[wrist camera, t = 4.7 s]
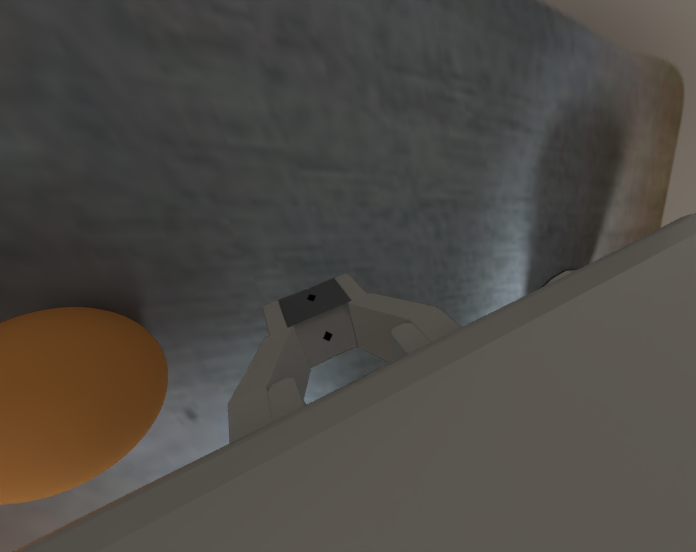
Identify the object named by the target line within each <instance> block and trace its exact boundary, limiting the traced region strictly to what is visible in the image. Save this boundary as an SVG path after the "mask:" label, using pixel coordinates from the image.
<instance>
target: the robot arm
mask: <svg viewBox="0 0 696 552" xmlns="http://www.w3.org/2000/svg"><path fill="white" fill-rule="evenodd" d="M278 301H279V302H278ZM263 311H264V315H265V319H266V323H267V327H268V331H269V335H270V336H268V337H266V338H265V339H264V341H263V343H262V344H261V346H260V348H259V350H258V351H257V353H256V355H255V357H254V359H253V360H252V362H251V364H250V366H249V367H248V369H247V371H246V373H245V374H244V376H243V378H242V380H241V382H240V383H239V385H238V387H237V389H236V390H235V392H234V394H233V396H232V398H231V399H230V401H229V403H228V418H229V444H228V445H226V446H224V447H222V448H220V449H218V450H216V451H214V452H212V453H210V454H208V455H206V456H204V457H202V458H200V459H198V460H196V461H194V462H192V463H190V464H188V465H186V466H184V467H182V468H180V469H177V470H175V471H173V472H171V473H169V474H167V475H165V476H163V477H161V478H159V479H157V480H155V481H153V482H151V483H149V484H147V485H145V486H143V487H141V488H139V489H137V490H135V491H133V492H131V493H129V494H127V495H125V496H123V497H121V498H119V499H117V500H115V501H113V502H111V503H109V504H107V505H105V506H103V507H101V508H99V509H97V510H95V511H93V512H91V513H89V514H87V515H85V516H83V517H81V518H79V519H77V520H75V521H73V522H71V523H69V524H67V525H65V526H63V527H61V528H59V529H57V530H55V531H53V532H51V533H49V534H47V535H45V536H43V537H41V538H39V539H37V540H35V541H33V542H31V543H29V544H27V545H25V546H23V547H21V548H19V549H17V550H15V551H13V552H696V213H695V214H690V215H687V216H684V217H681V218H679V219H677V220H675V221H673V222H671V223H669V224H668V225H666V226H664V227H662V228H660V229H658V230H656V231H654V232H652V233H650V234H648V235H646V236H644V237H642V238H640V239H638V240H636V241H634V242H632V243H630V244H628V245H626V246H624V247H622V248H620V249H618V250H616V251H614V252H612V253H610V254H608V255H606V256H604V257H602V258H600V259H598V260H596V261H594V262H592V263H590V264H588V265H586V266H584V267H582V268H580V269H578V270H576V271H574V272H572V273H570V274H568V275H566V276H564V277H562V278H560V279H558V280H556V281H554V282H552V283H550V284H548V285H546V286H544V287H542V288H540V289H538V290H536V291H534V292H532V293H530V294H528V295H526V296H524V297H522V298H520V299H518V300H516V301H514V302H512V303H510V304H508V305H506V306H504V307H502V308H500V309H498V310H496V311H494V312H492V313H490V314H488V315H486V316H484V317H482V318H480V319H478V320H476V321H474V322H472V323H470V324H468V325H466V326H464V327H461V326H460V325H458V324H457V323H456V322H455V321H454V320H452V319H451V318H450V317H449V316H447V315H446V314H445V313H444V312H443V311H441V310H440V309H439V308H438V307H435V306H430V305H426V304H421V303H416V302H412V301H407V300H402V299H398V298H393V297H388V296H384V295H379V294H374V293H369V294H367V293H366V292H365V291H364V290H363V289H362V288H361V287H360V286H359V285H358V284H357V283H356V281H355V280H354V279H353V278H352V277H351V276H350V275H349V274H348V273H344V274H342V275H339V276H337V277H335V278H333V279H330V280H328V281H326V282H323V283H321V284H319V285H316V286H314V287H312V288H309V289H306V290H303V291H300V292H297V293H295V294H292V295H289V296H287V297H284V298H281V299H279V300H276V301H273V302H271V303H268V304H266V305H263ZM357 346H358V347H359V348H361V349H363V350H365V351H367V352H369V353H371V354H373V355H376V356H378V357H380V358H382V359H384V360H386V361H388V362H390V364H388V365H386V366H384V367H382V368H380V369H378V370H376V371H374V372H372V373H370V374H368V375H366V376H364V377H362V378H360V379H358V380H356V381H353V382H351V383H349V384H347V385H345V386H343V387H341V388H339V389H337V390H335V391H333V392H331V393H329V394H327V395H325V396H323V397H321V398H319V399H317V400H315V401H313V402H311V403H309V404H307V405H306V403H305V401H304V396H305V392H306V387H307V383H308V379H309V375H310V371H311V369H310V368H312V367H314V366H316V365H318V364H320V363H322V362H324V361H326V360H328V359H330V358H332V357H334V356H336V355H339V354H341V353H343V352H345V351H348V350H350V349H352V348H355V347H357Z"/></svg>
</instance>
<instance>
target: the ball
mask: <svg viewBox="0 0 696 552" xmlns="http://www.w3.org/2000/svg"><path fill="white" fill-rule="evenodd" d="M167 385H168V368H167V362H166V359H165V356H164V353H163V351H162V348H161V347H160V345H159V343H158V342H157V340H156V339H155V338H154V337H153V336H152V334H151V333H150V332H149V331H148V330H146V329H145V328H144V327H143V326H141V325H140V324H138V323H137V322H135V321H133V320H132V319H130V318H128V317H125V316H123V315H120V314H118V313H114V312H111V311H107V310H102V309H97V308H88V307H61V308H52V309H46V310H40V311H35V312H31V313H27V314H23V315H20V316H17V317H14V318H11V319H9V320H6V321H3V322H1V323H0V504H14V503H22V502H28V501H33V500H37V499H42V498H46V497H50V496H53V495H56V494H59V493H62V492H64V491H67V490H69V489H72V488H74V487H76V486H79V485H81V484H83V483H85V482H87V481H89V480H91V479H92V478H94V477H96V476H97V475H99V474H101V473H102V472H104V471H105V470H107V469H109V468H110V467H111V466H113V465H114V464H115V463H117V462H118V461H119V460H120V459H122V458H123V457H124V456H125V455H126V454H127V453H128V452H130V451H131V450H132V449H133V448H134V447H135V446H136V445H137V443H138V442H139V441H140V440H141V439H142V438H143V437H144V435H145V434H146V433H147V431H148V430H149V429H150V427H151V426H152V424H153V423H154V421H155V420H156V418H157V416H158V414H159V412H160V410H161V407H162V405H163V402H164V399H165V396H166V391H167Z"/></svg>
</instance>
